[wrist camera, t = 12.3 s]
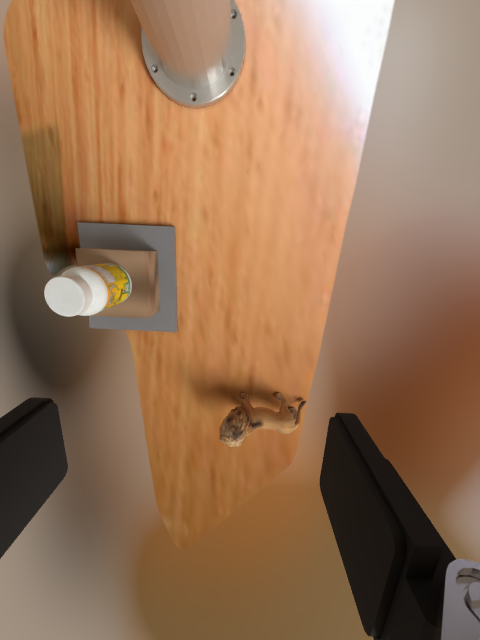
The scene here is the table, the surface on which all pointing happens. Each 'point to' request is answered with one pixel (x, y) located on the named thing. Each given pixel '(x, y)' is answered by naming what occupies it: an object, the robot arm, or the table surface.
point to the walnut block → (142, 277)
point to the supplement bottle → (88, 289)
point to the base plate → (166, 247)
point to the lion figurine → (257, 420)
